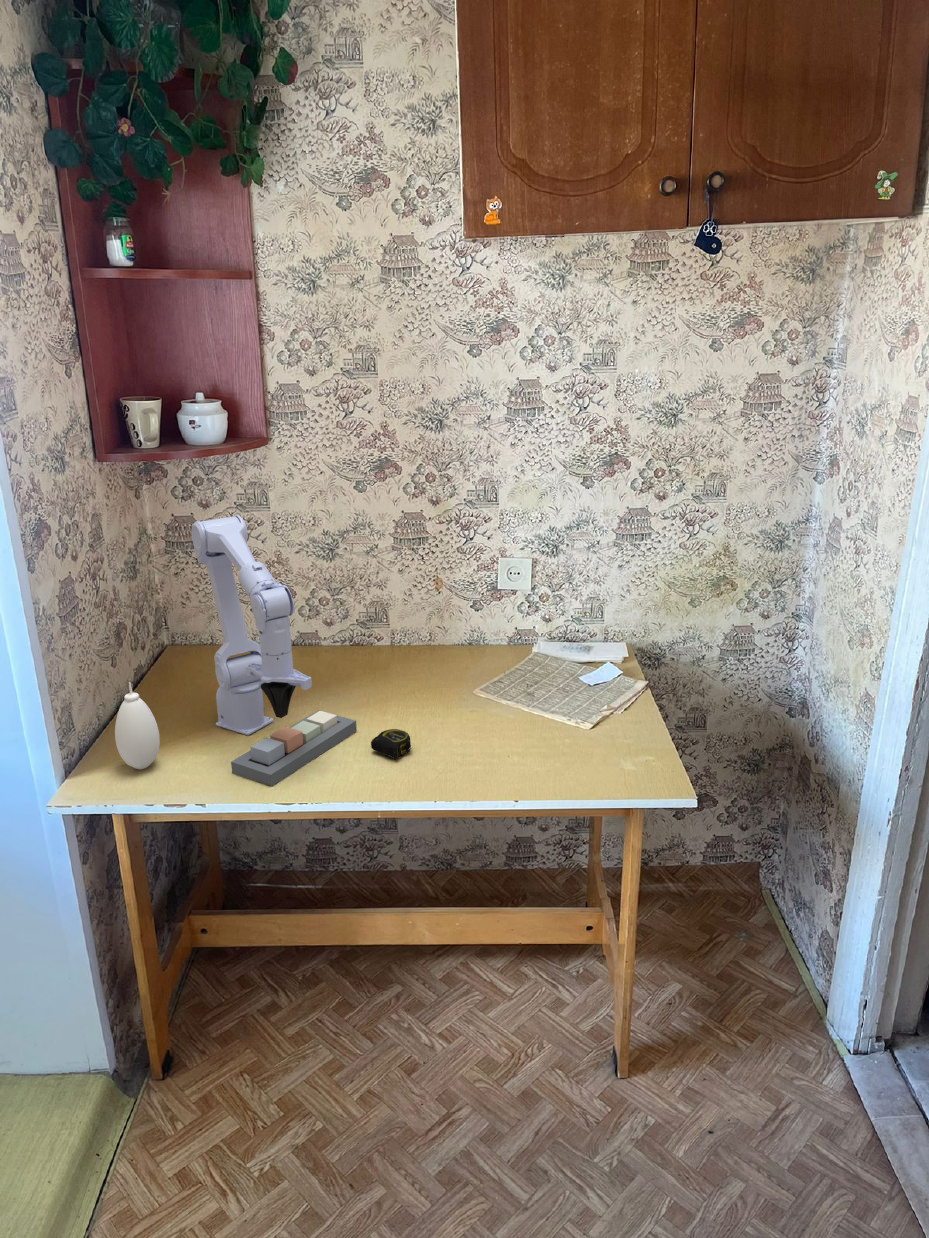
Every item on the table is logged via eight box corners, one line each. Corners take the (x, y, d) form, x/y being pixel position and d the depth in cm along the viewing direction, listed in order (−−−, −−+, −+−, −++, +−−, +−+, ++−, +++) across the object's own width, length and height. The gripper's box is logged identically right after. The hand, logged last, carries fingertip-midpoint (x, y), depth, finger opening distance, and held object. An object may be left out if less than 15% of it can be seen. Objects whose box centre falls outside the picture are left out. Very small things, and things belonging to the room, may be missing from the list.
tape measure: (369, 753, 187) (368, 736, 186) (393, 741, 192) (392, 724, 191) (394, 764, 183) (393, 747, 182) (418, 751, 188) (417, 734, 187)
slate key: (251, 759, 180) (250, 746, 179) (267, 750, 184) (266, 737, 183) (269, 765, 178) (268, 752, 177) (284, 755, 182) (283, 742, 181)
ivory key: (307, 731, 194) (306, 718, 193) (320, 722, 197) (320, 710, 196) (324, 736, 191) (323, 723, 190) (337, 727, 195) (336, 715, 194)
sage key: (289, 741, 189) (288, 729, 188) (304, 732, 193) (303, 720, 192) (306, 746, 187) (305, 734, 186) (320, 737, 191) (320, 725, 190)
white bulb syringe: (147, 753, 188) (136, 670, 182) (170, 765, 183) (159, 680, 177) (112, 768, 182) (99, 683, 176) (135, 781, 178) (122, 694, 172)
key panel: (232, 773, 180) (230, 761, 179) (319, 720, 201) (318, 710, 200) (271, 786, 175) (270, 774, 174) (356, 731, 196) (356, 720, 195)
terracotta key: (271, 748, 185) (269, 735, 184) (286, 739, 188) (285, 726, 187) (288, 753, 182) (287, 740, 181) (303, 744, 186) (302, 731, 185)
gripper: (232, 650, 178) (239, 715, 182) (292, 664, 171) (297, 731, 175) (257, 638, 183) (263, 702, 188) (316, 651, 176) (321, 717, 181)
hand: (281, 715), depth 182 cm, fingers closed
